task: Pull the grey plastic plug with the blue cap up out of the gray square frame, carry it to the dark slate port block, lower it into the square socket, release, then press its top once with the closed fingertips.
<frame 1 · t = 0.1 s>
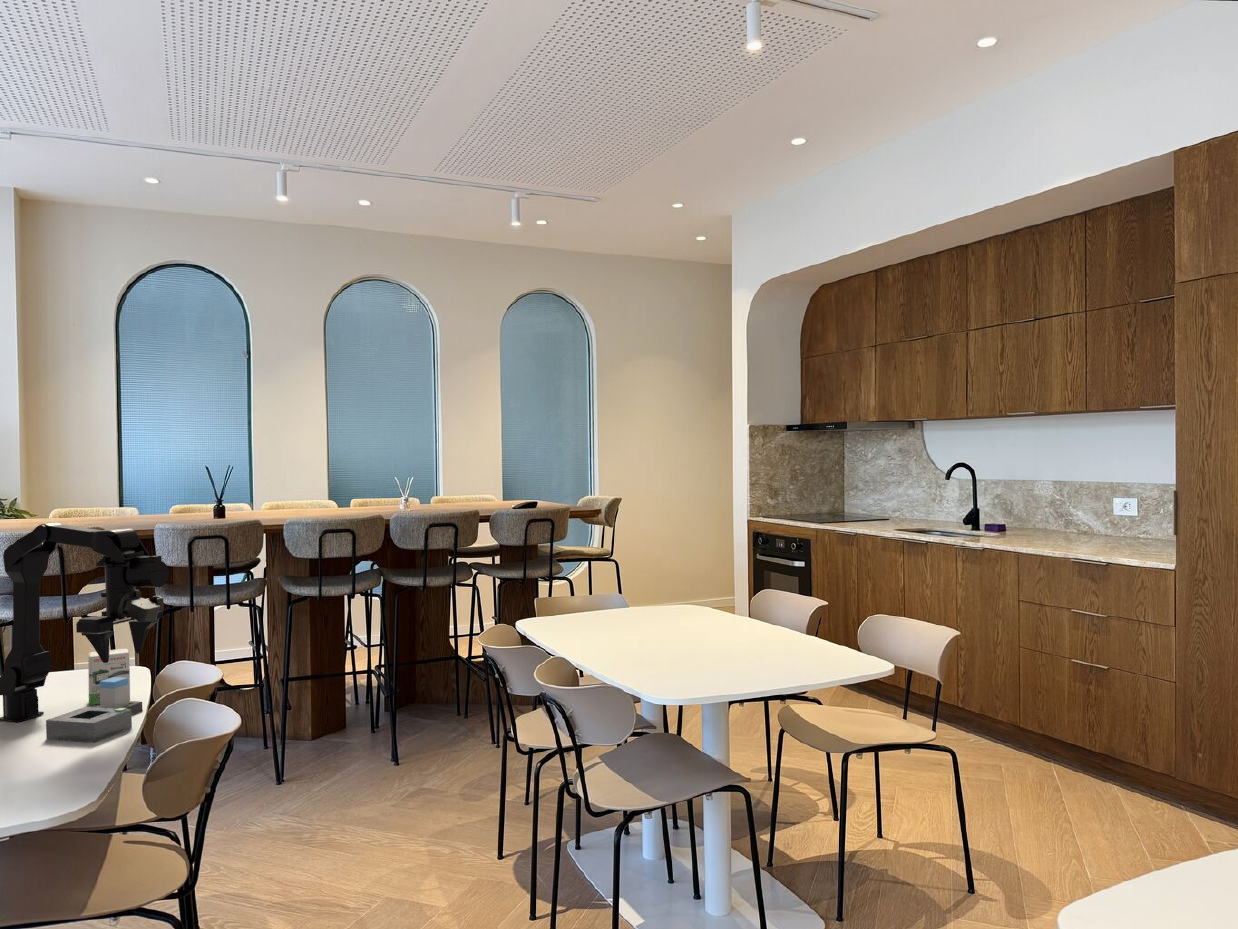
hand: (122, 657, 195), 14 cm above the table, fingers open, 9 cm apart
ink box: (110, 701, 215), on the table
plug: (114, 697, 203), in the gray square frame
gray square frame: (115, 714, 203), on the table
port: (89, 733, 189), on the table
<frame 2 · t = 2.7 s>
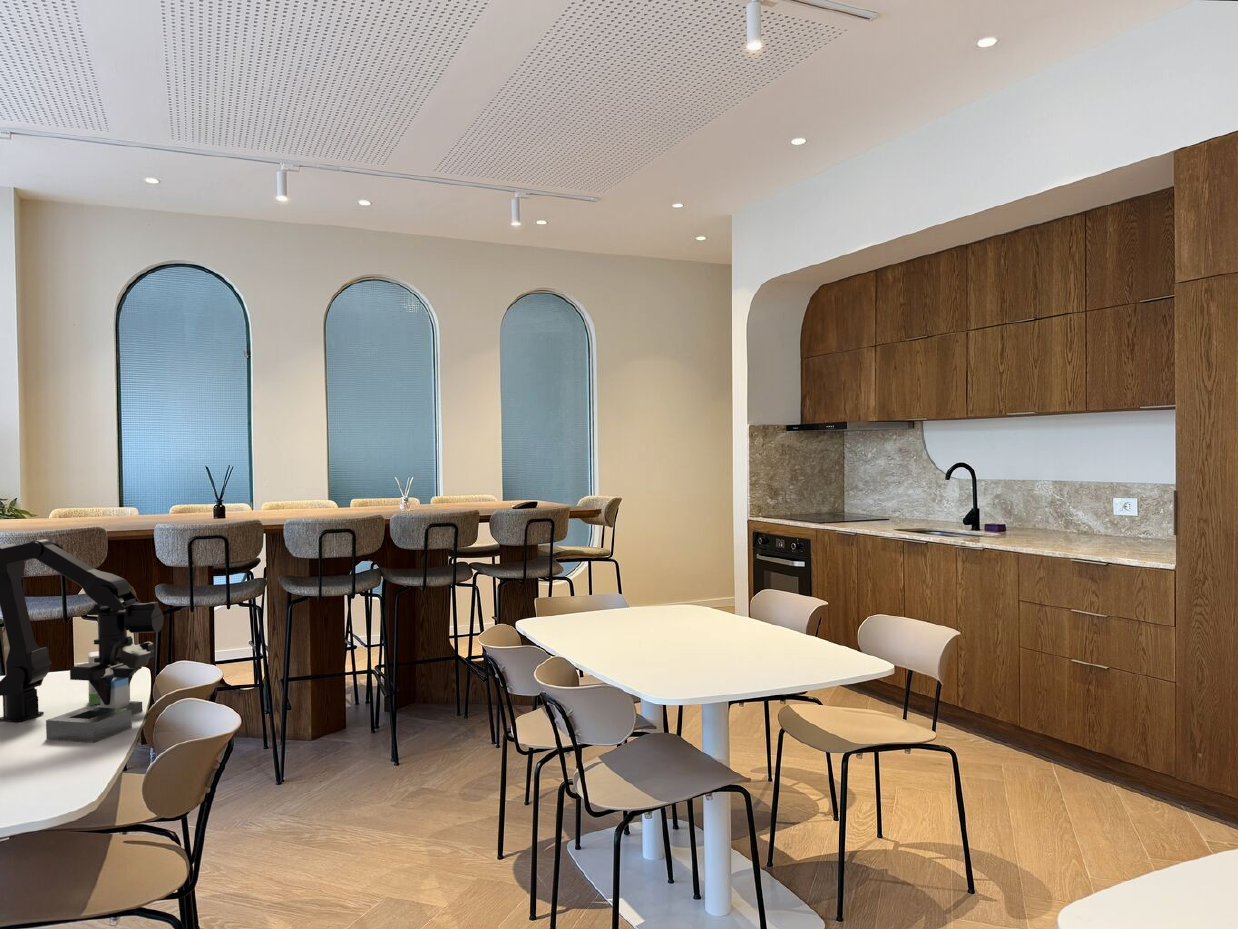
hand: (114, 702, 203), 3 cm above the table, fingers closed on plug, 4 cm apart
plug: (114, 697, 203), in the gray square frame, touching gripper
everything else where it was.
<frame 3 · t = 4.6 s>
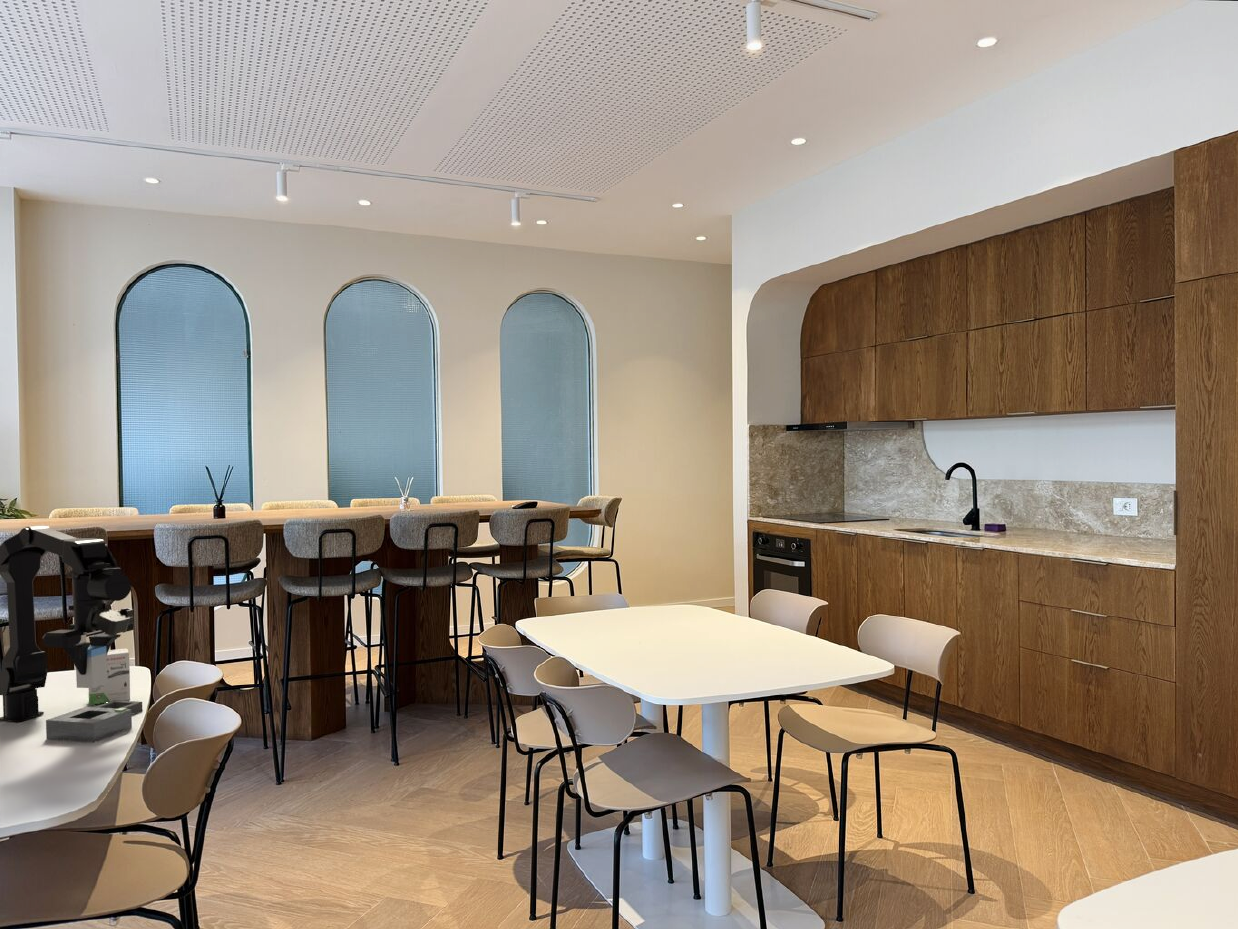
hand: (91, 672, 190), 13 cm above the table, fingers closed on plug, 4 cm apart
plug: (91, 666, 190), point 14 cm above the table, touching gripper
everything else where it was.
when the fingers open (5 cm above the table, at t = 6.8 s): plug drops 2 cm, resting in port.
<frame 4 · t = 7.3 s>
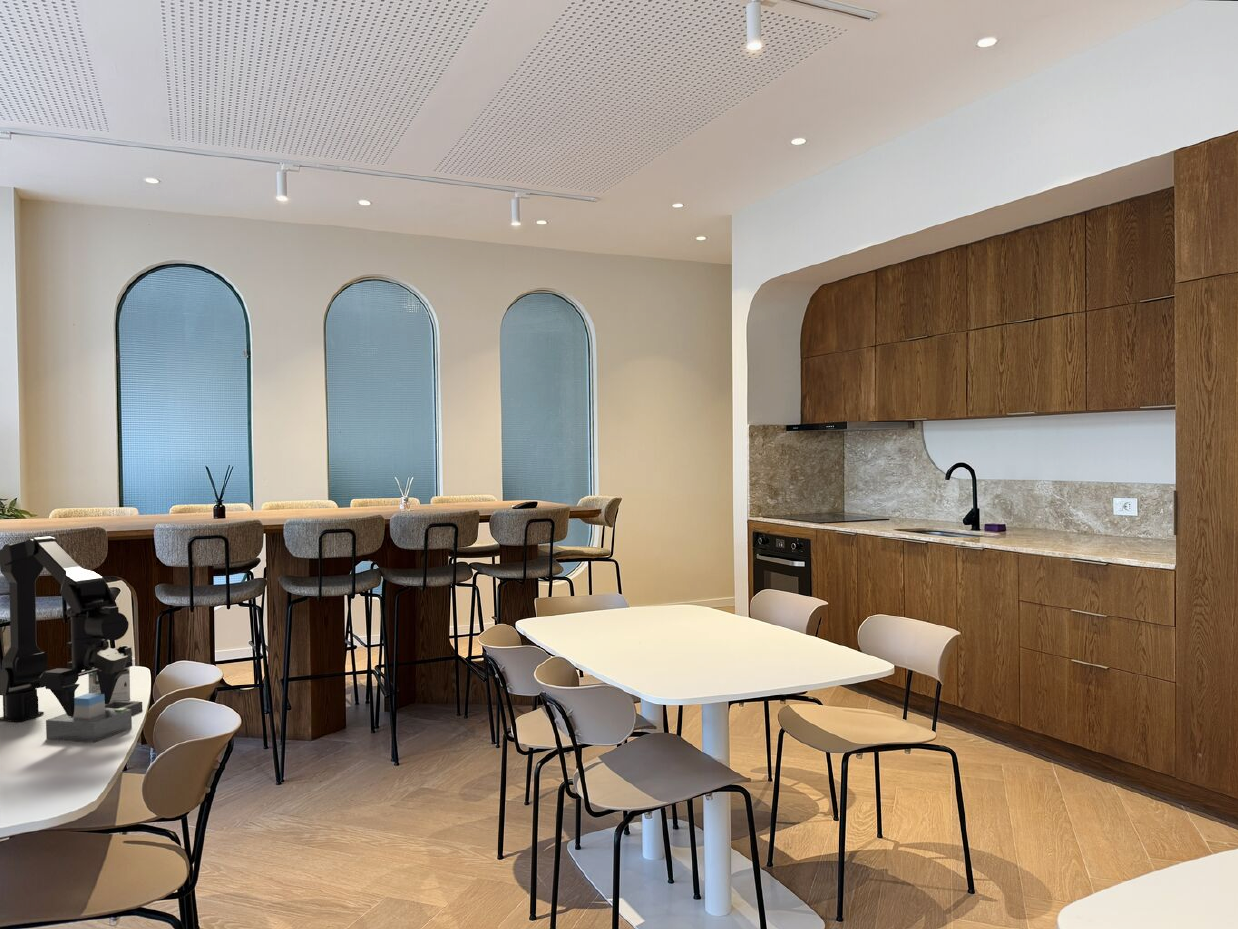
hand: (89, 710, 189), 5 cm above the table, fingers open, 9 cm apart
plug: (89, 714, 189), in the port
everything else where it was.
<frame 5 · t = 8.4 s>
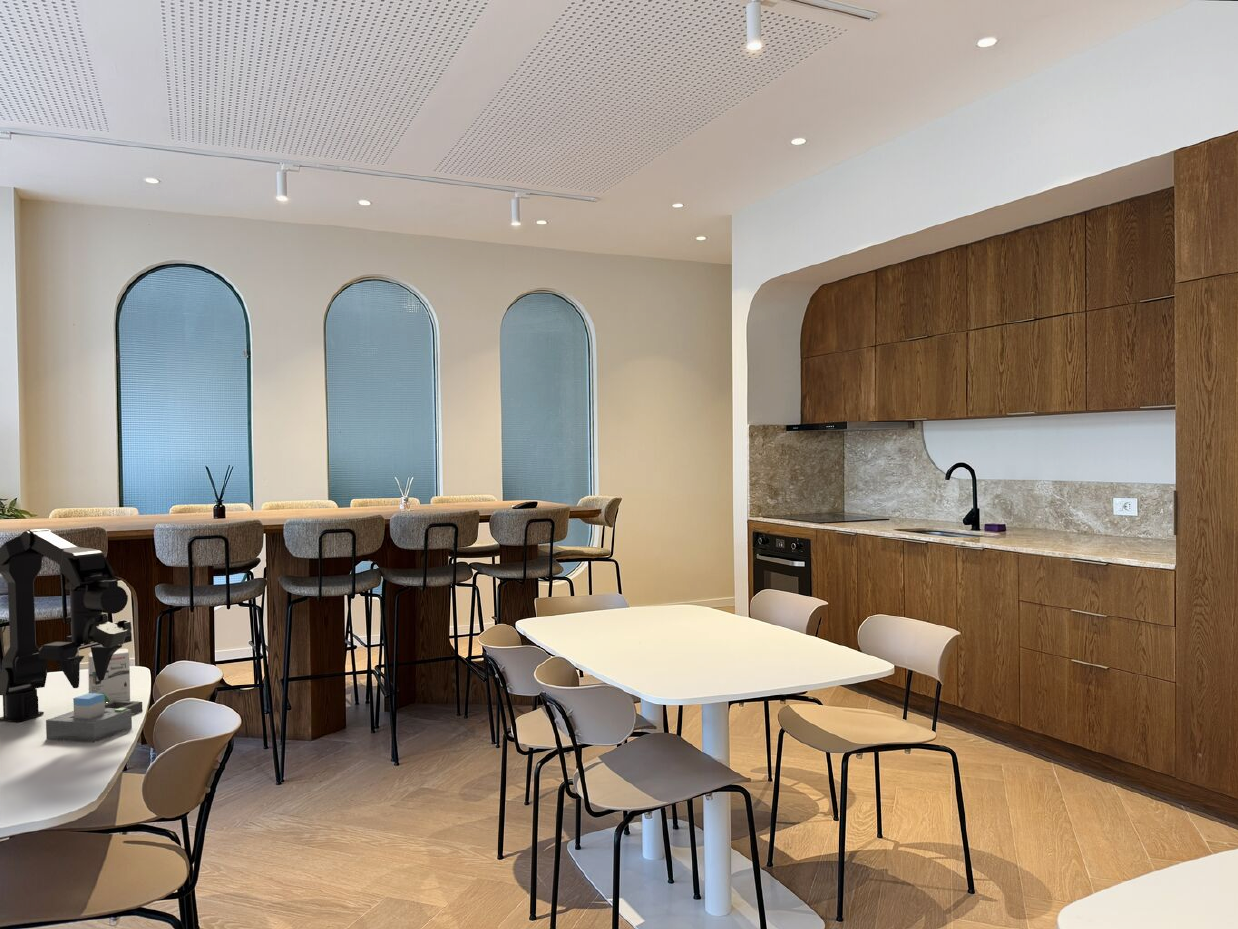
hand: (88, 684, 189), 10 cm above the table, fingers open, 6 cm apart
nothing on the table moved.
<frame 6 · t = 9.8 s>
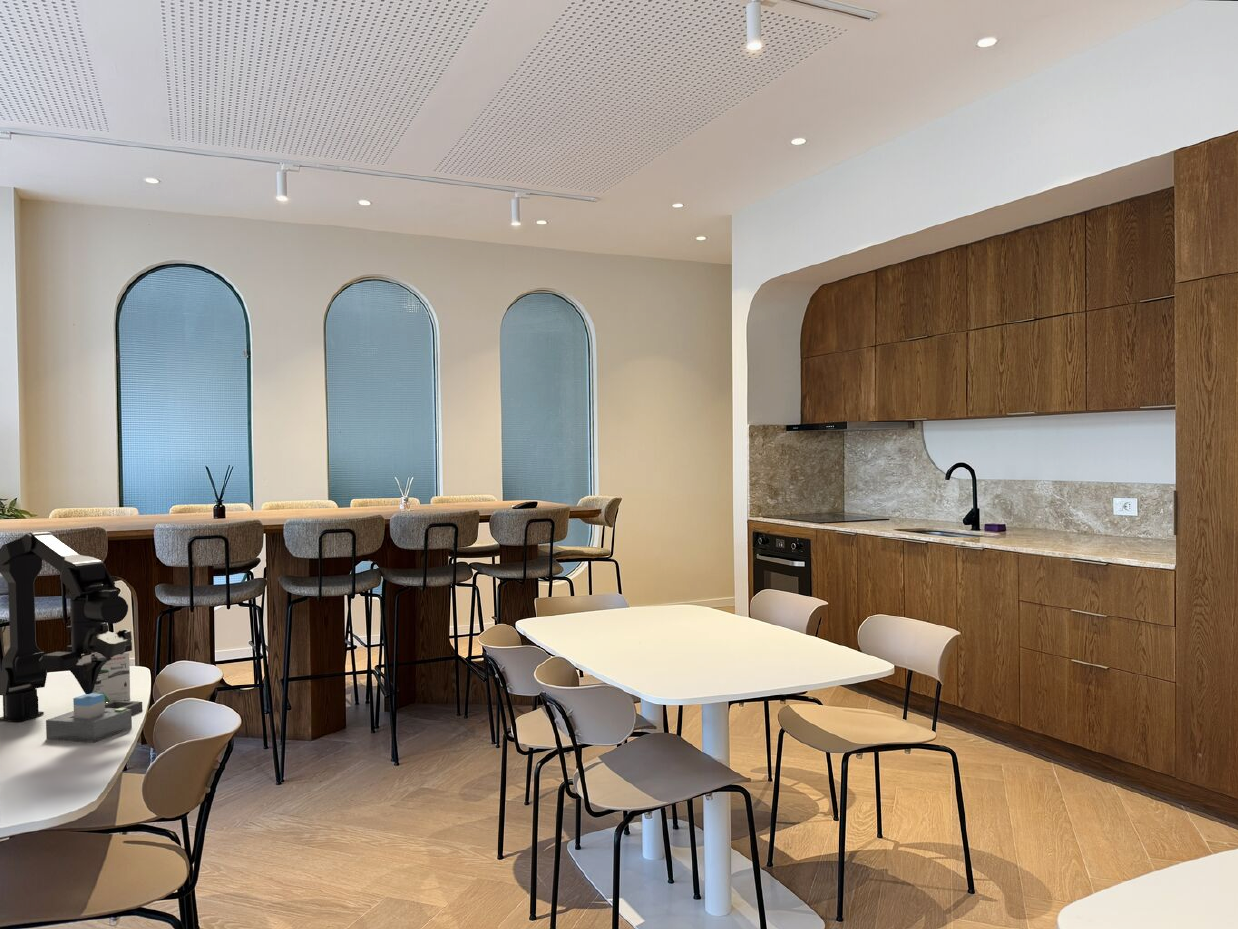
hand: (88, 693, 189), 8 cm above the table, fingers closed
nothing on the table moved.
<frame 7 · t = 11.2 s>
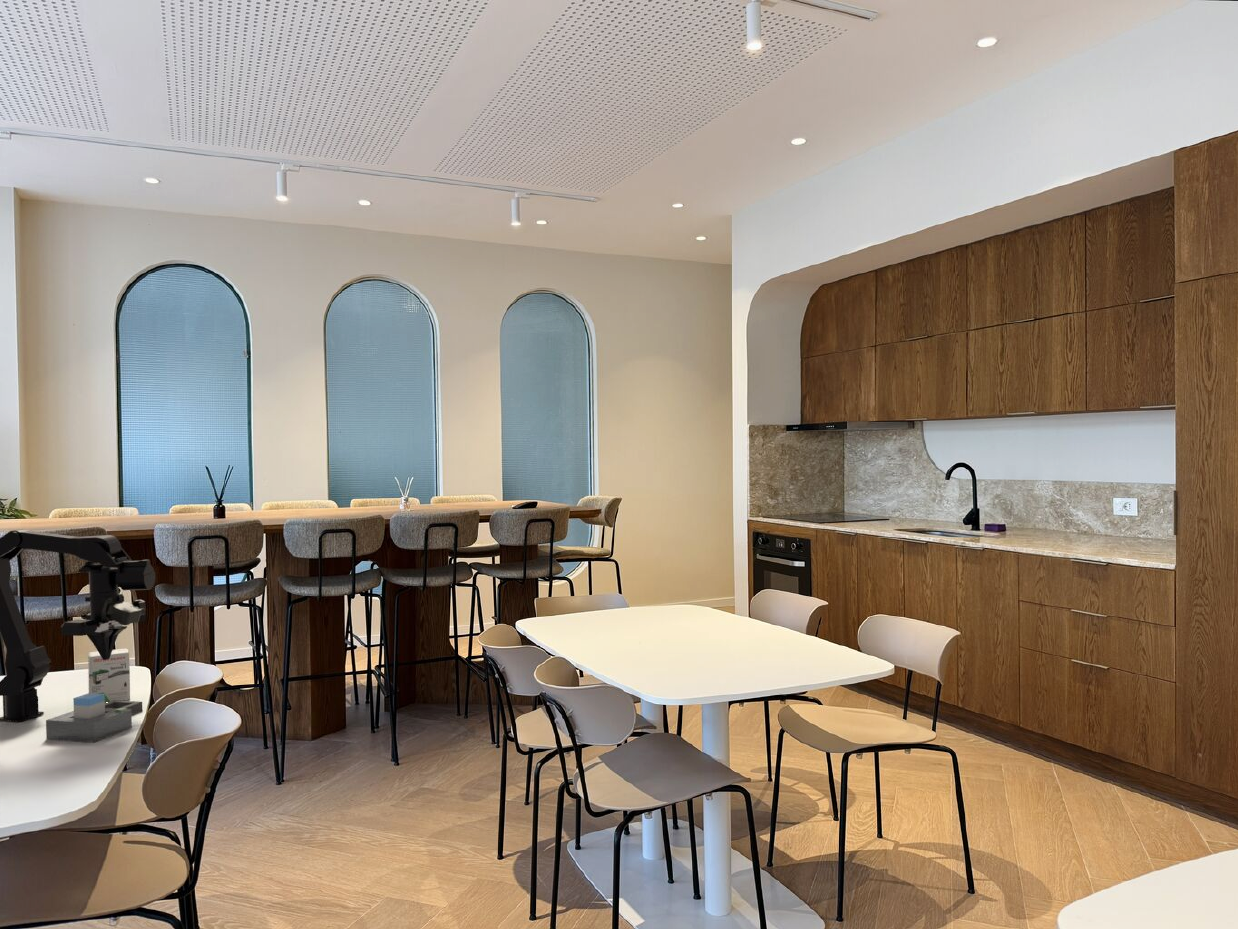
hand: (106, 659, 203), 12 cm above the table, fingers closed
nothing on the table moved.
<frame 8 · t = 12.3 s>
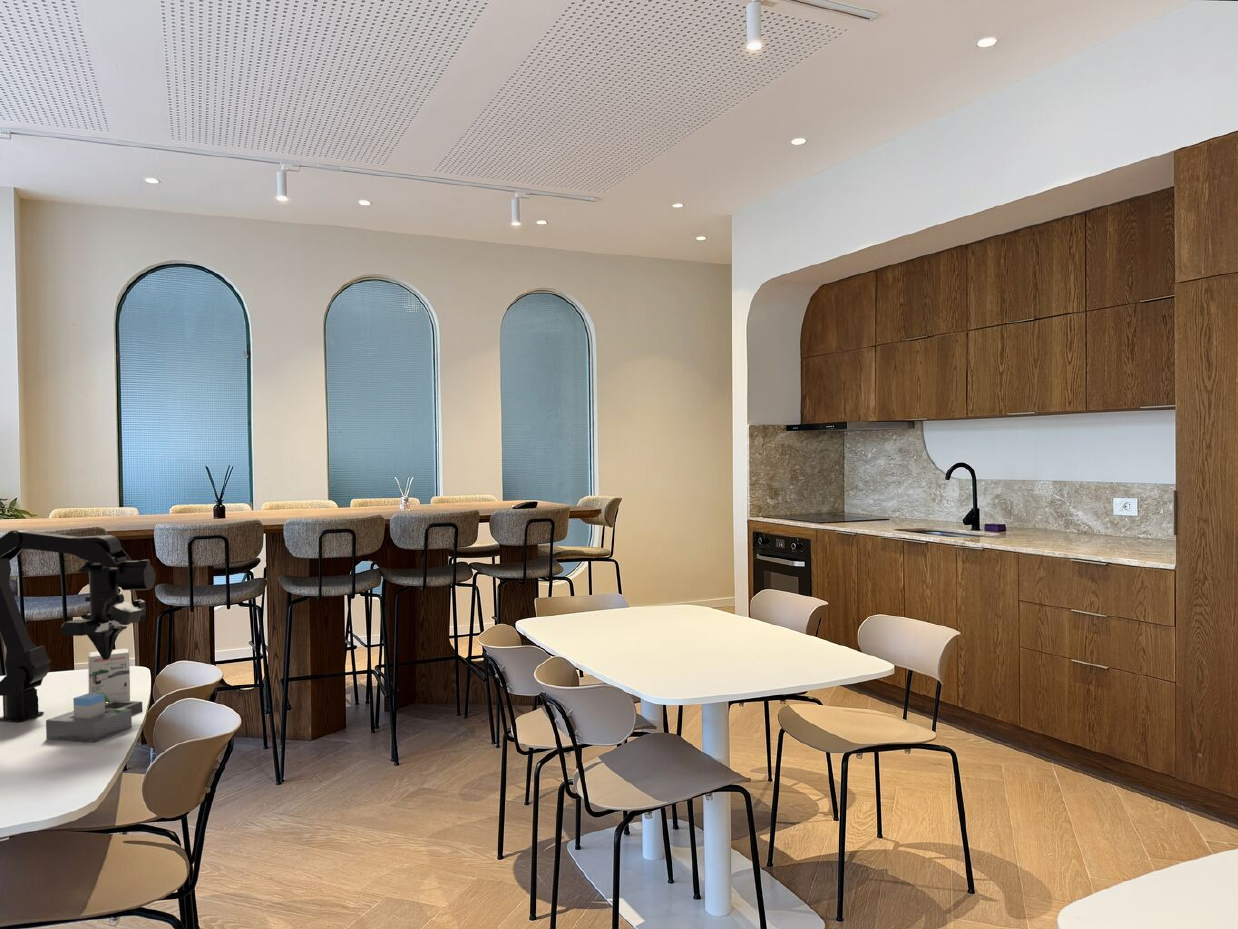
hand: (106, 659, 203), 13 cm above the table, fingers closed
nothing on the table moved.
at the end: plug 0.0 cm off-centre on the port, point 4.0 cm above the port's base; plug tilted 0°; the gripper is holding nothing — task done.
